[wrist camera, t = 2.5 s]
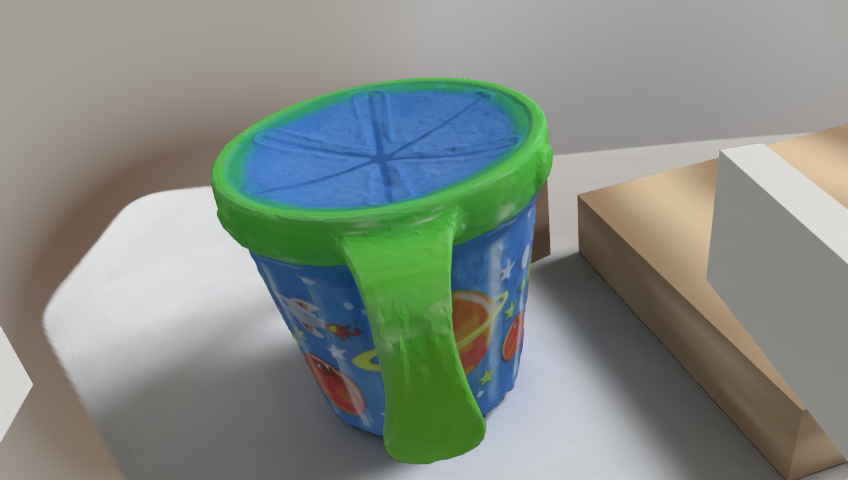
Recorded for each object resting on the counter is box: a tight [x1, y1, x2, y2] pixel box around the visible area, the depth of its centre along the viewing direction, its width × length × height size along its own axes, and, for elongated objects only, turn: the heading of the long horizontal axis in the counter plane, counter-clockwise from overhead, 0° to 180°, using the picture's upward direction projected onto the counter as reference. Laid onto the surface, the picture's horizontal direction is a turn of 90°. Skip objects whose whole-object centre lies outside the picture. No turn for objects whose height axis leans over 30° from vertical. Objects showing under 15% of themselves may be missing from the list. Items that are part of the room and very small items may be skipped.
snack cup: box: [210, 78, 553, 464], centre depth 24 cm, size 16×10×10 cm
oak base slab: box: [578, 124, 848, 480], centre depth 27 cm, size 14×14×3 cm
